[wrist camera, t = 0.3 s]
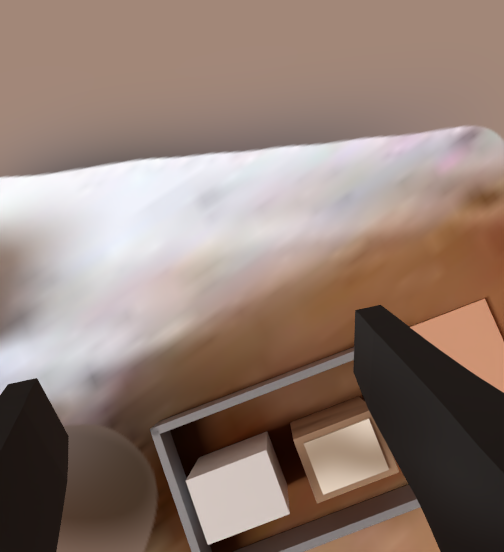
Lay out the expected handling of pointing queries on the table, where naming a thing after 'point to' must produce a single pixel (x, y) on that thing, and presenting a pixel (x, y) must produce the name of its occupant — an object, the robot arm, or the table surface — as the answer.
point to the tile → (469, 340)
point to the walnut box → (342, 449)
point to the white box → (238, 488)
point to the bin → (291, 544)
